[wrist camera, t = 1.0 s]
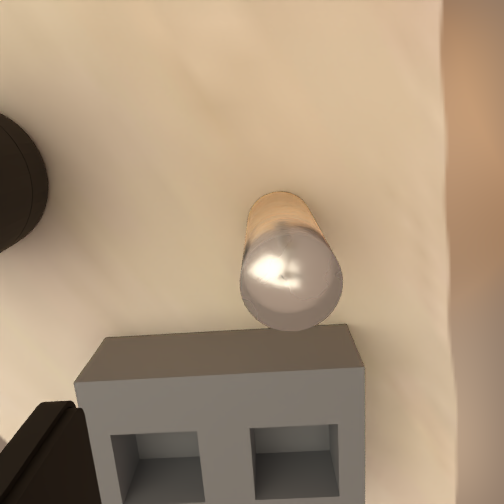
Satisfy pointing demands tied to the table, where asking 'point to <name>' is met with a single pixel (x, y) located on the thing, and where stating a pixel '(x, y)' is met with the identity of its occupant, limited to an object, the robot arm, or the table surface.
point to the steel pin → (287, 265)
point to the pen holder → (19, 184)
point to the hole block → (227, 417)
